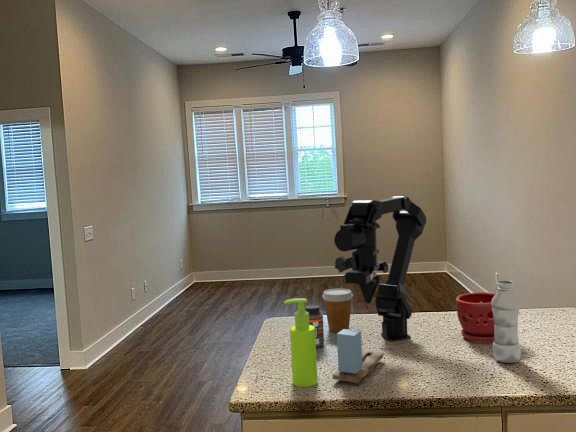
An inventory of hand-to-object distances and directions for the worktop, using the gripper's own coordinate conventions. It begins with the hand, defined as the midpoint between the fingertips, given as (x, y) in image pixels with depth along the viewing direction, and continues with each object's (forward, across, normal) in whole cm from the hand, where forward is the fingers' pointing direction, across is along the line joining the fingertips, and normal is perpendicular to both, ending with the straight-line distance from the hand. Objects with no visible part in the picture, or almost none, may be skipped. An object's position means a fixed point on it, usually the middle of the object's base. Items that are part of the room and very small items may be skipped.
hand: (368, 303), depth 142 cm
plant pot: (+13, -20, +26) cm, 35 cm away
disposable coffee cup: (+13, -14, -15) cm, 25 cm away
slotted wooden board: (+13, +16, +3) cm, 21 cm away
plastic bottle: (+13, -4, +34) cm, 37 cm away
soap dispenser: (+13, +27, -7) cm, 31 cm away
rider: (+12, +21, +3) cm, 25 cm away
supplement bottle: (+13, +2, -16) cm, 21 cm away
